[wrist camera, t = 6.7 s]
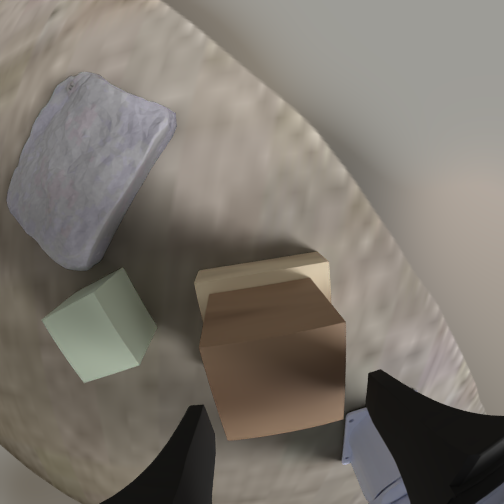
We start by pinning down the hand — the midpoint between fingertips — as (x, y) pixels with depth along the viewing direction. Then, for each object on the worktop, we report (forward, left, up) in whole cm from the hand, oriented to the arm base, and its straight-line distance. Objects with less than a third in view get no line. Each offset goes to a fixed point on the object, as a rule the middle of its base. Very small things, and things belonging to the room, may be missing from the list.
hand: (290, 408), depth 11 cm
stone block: (+13, +11, -10) cm, 20 cm away
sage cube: (+2, +11, -10) cm, 15 cm away
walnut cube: (0, 0, -7) cm, 7 cm away
